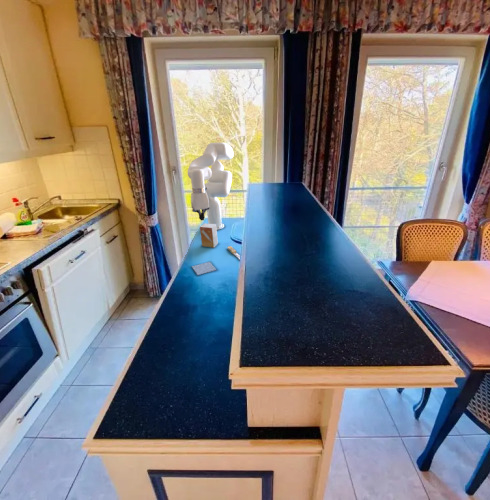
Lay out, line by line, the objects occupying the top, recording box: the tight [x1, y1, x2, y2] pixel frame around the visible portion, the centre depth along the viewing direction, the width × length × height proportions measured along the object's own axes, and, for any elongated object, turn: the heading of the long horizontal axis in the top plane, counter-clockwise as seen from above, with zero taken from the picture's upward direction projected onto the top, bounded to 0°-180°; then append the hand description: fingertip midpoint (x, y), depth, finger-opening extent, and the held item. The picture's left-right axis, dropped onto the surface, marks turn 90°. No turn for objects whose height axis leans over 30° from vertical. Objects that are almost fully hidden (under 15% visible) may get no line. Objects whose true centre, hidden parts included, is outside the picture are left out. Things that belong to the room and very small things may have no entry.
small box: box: [199, 222, 219, 249], centre depth 169 cm, size 8×6×13 cm
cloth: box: [191, 261, 217, 276], centre depth 146 cm, size 10×10×1 cm
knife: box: [227, 245, 241, 261], centre depth 159 cm, size 17×2×2 cm, turn 28°
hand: (202, 219), depth 174 cm, fingers closed
